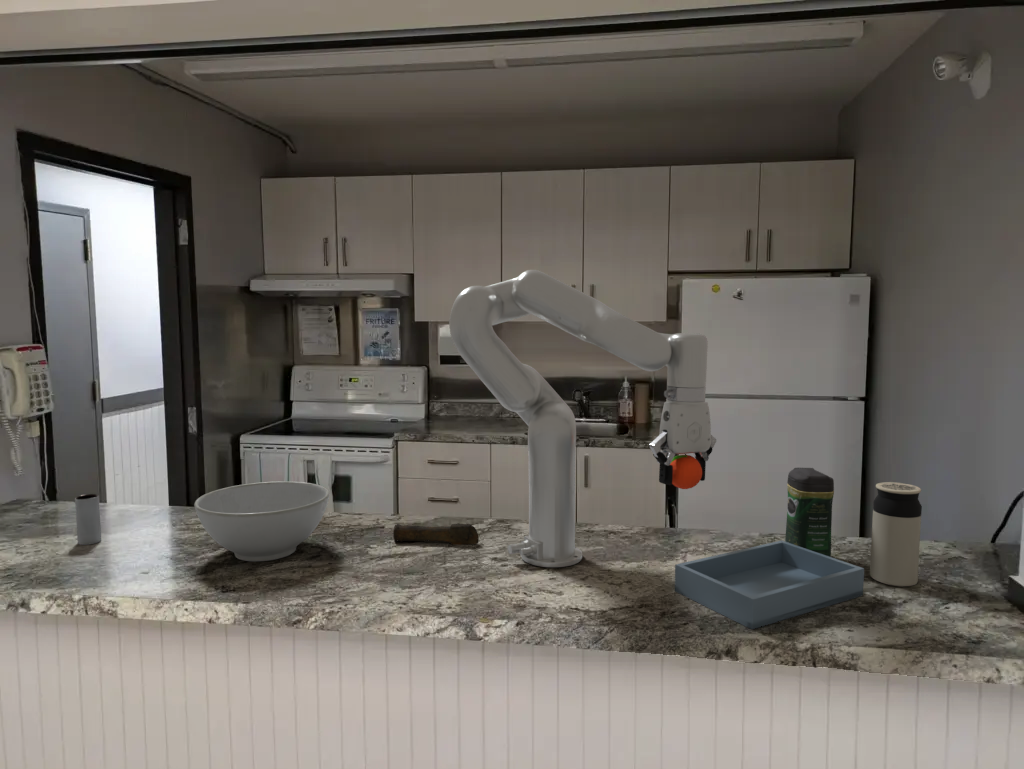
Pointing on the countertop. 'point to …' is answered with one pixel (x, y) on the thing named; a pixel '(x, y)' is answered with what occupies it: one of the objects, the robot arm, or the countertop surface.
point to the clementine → (686, 471)
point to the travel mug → (896, 534)
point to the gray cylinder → (88, 519)
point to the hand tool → (437, 534)
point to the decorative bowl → (262, 517)
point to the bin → (768, 582)
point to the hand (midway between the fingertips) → (682, 481)
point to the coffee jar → (809, 510)
